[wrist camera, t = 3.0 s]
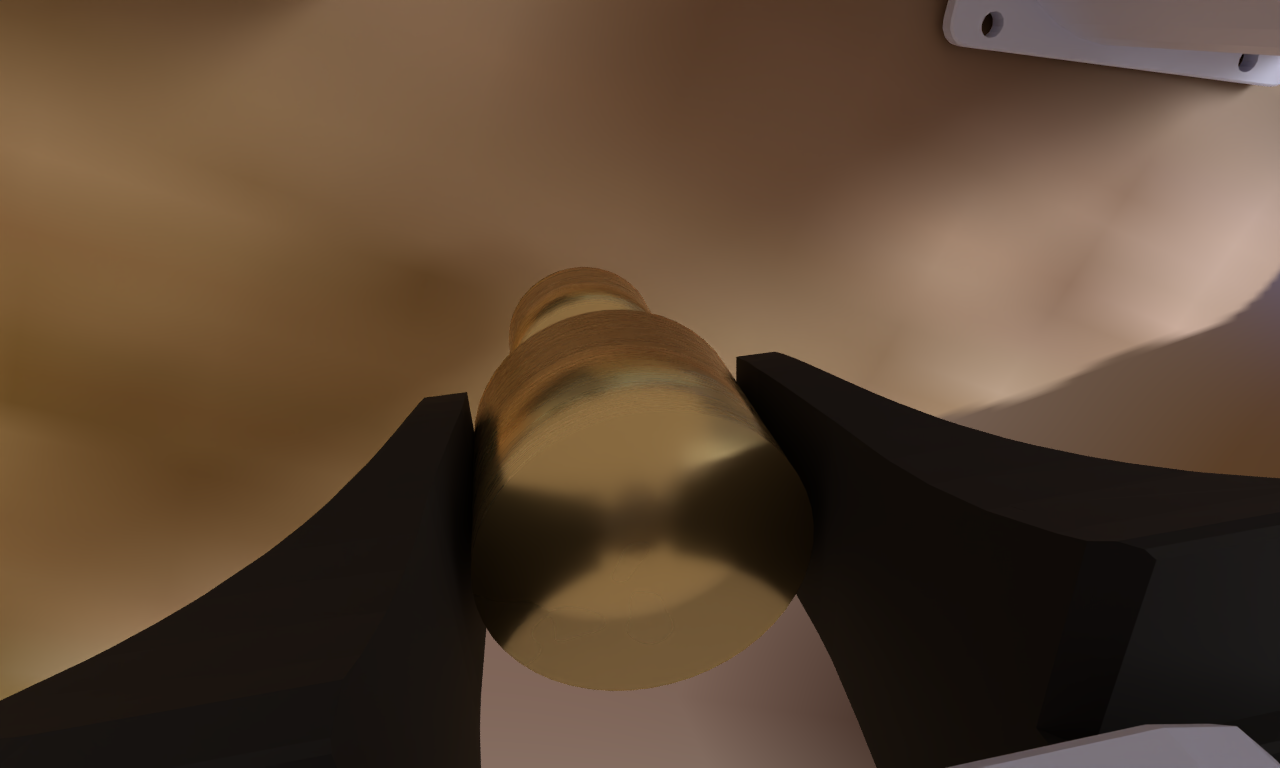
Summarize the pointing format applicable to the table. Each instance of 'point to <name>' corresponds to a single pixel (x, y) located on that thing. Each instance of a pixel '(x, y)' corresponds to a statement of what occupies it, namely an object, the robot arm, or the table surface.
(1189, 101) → the table surface
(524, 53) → the table surface
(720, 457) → the peg
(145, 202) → the table surface
